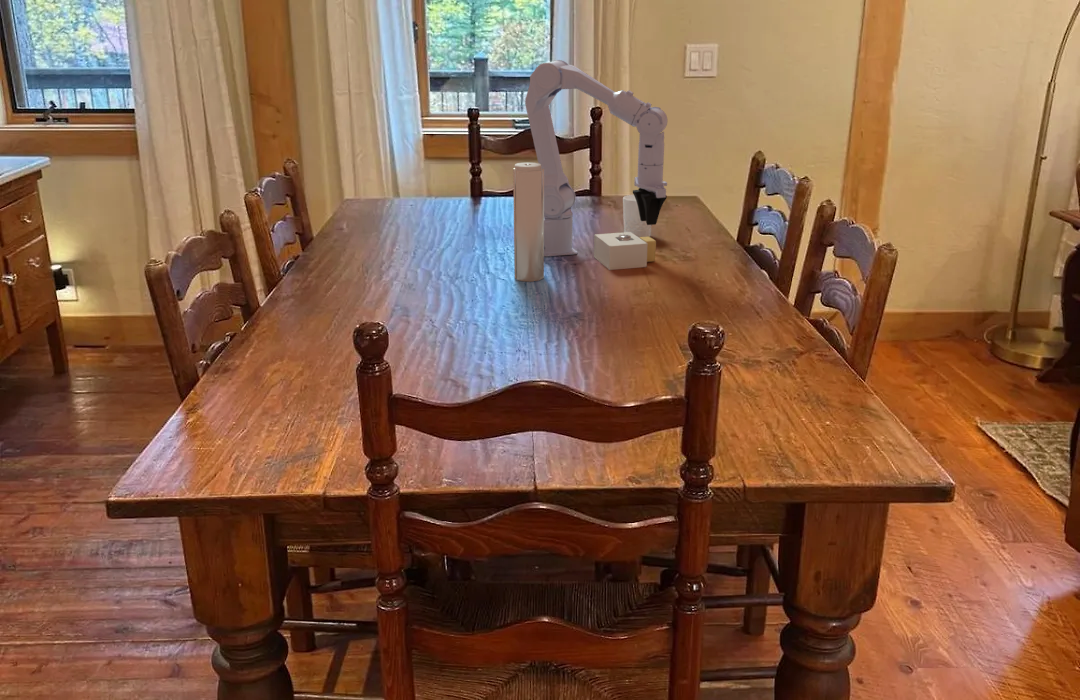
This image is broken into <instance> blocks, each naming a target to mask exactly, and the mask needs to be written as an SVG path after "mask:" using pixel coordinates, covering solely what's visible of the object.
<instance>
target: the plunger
mask: <svg viewBox="0 0 1080 700" xmlns="http://www.w3.org/2000/svg"><path fill="white" fill-rule="evenodd" d="M628 240H631V236H630V235H619V241H628Z"/></svg>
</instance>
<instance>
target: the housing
mask: <svg viewBox="0 0 1080 700" xmlns="http://www.w3.org/2000/svg"><path fill="white" fill-rule="evenodd" d="M619 235H630V236H631V240H628V241H619ZM593 236H594V237H593V238H594V239H593V243H594V244H593V257H594V259H596V260H597V261H598V262H599V263H600V264H601V265H603V266H604V267H605V268H606V269H608V270H609V271H613V270H614V271H615V270H623V269H635V268H637V269H638V268H647V265H648V262H647V244H648V243H646V242H645V241H643V240H642V239H640V238H639V237H637V236H636V235H634V234H633V233H631V232H624V231H623V232H612V233H611V232H610V233H599V234H597V233H596V234H594V235H593Z"/></svg>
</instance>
